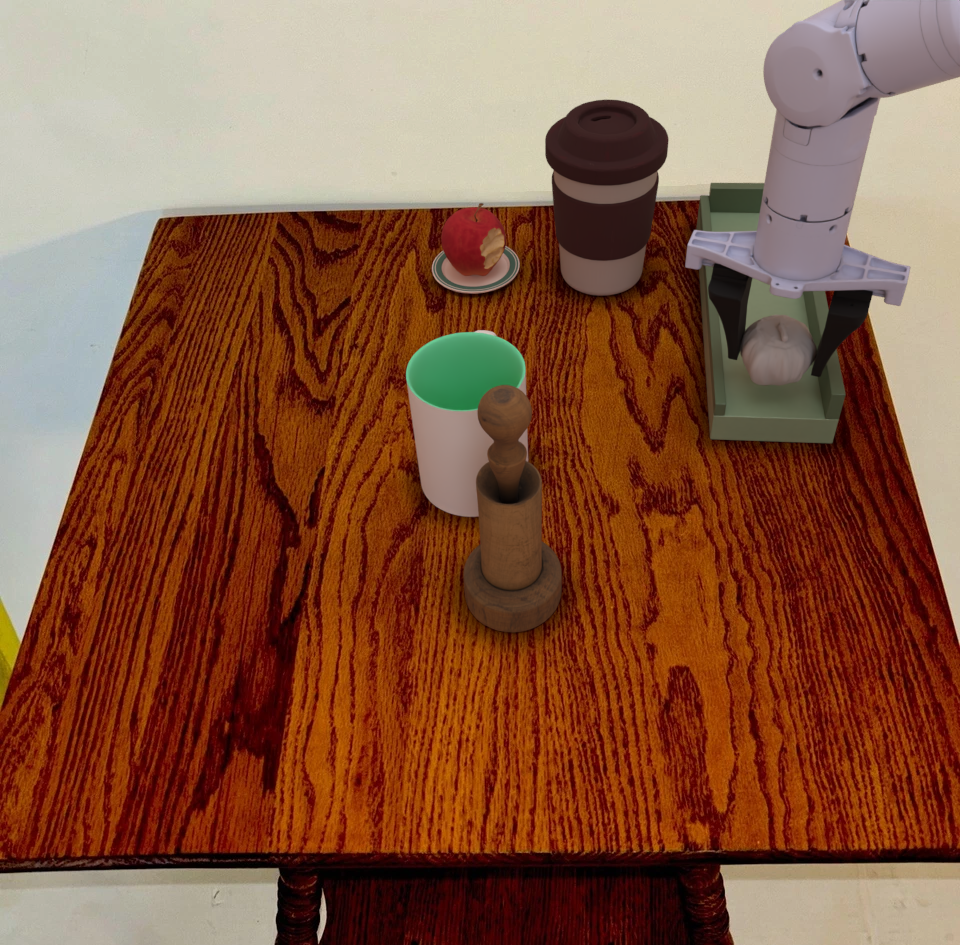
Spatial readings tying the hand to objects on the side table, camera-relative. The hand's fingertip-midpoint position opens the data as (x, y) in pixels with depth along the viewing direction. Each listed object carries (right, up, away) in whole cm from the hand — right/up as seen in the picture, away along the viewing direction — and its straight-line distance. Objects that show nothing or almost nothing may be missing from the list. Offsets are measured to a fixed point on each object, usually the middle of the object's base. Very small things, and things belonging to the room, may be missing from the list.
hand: (775, 359), depth 77 cm
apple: (-22, +10, +18) cm, 31 cm away
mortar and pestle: (-20, -17, -7) cm, 27 cm away
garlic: (0, -1, +1) cm, 2 cm away
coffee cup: (-11, +9, +17) cm, 22 cm away
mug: (-22, -7, +2) cm, 23 cm away
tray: (+2, +4, +11) cm, 12 cm away
